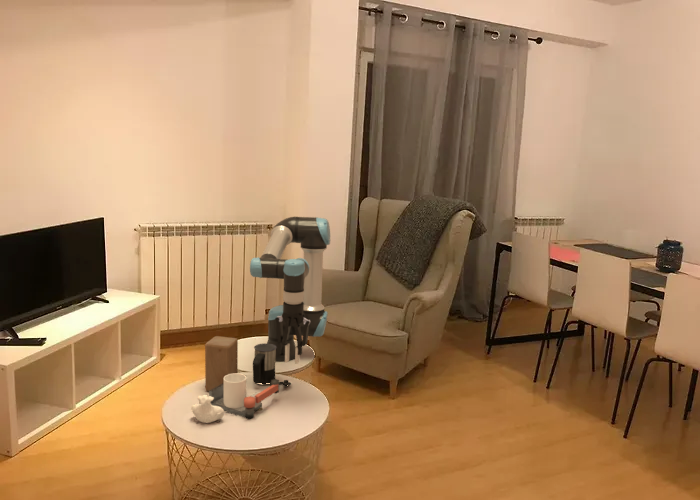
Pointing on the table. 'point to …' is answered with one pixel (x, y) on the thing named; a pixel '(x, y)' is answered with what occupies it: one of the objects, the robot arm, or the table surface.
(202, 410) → the bust
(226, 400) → the mug
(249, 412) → the metal tray
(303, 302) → the robot arm
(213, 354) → the wooden block
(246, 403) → the lever
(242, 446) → the table surface
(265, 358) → the milk frother
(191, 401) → the table surface
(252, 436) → the table surface
